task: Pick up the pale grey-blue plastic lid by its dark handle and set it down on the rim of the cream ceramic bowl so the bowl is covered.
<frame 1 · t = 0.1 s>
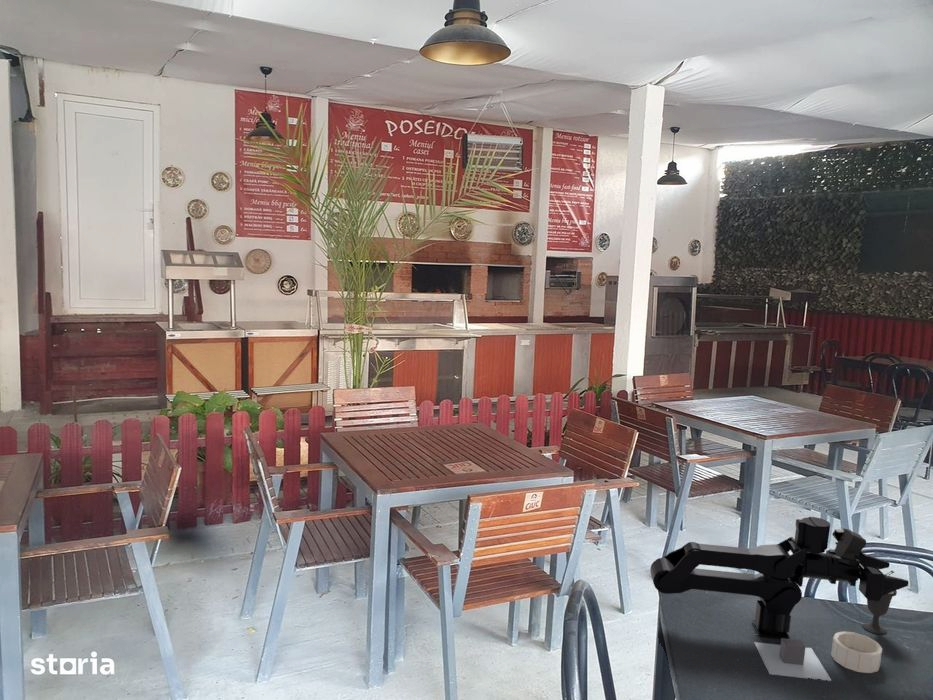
hand: (898, 573, 161), 17 cm above the table, tool horizontal, fingers open, 9 cm apart
sundae: (874, 629, 169), on the table
lid: (790, 663, 155), on the table
bowl: (855, 660, 156), on the table
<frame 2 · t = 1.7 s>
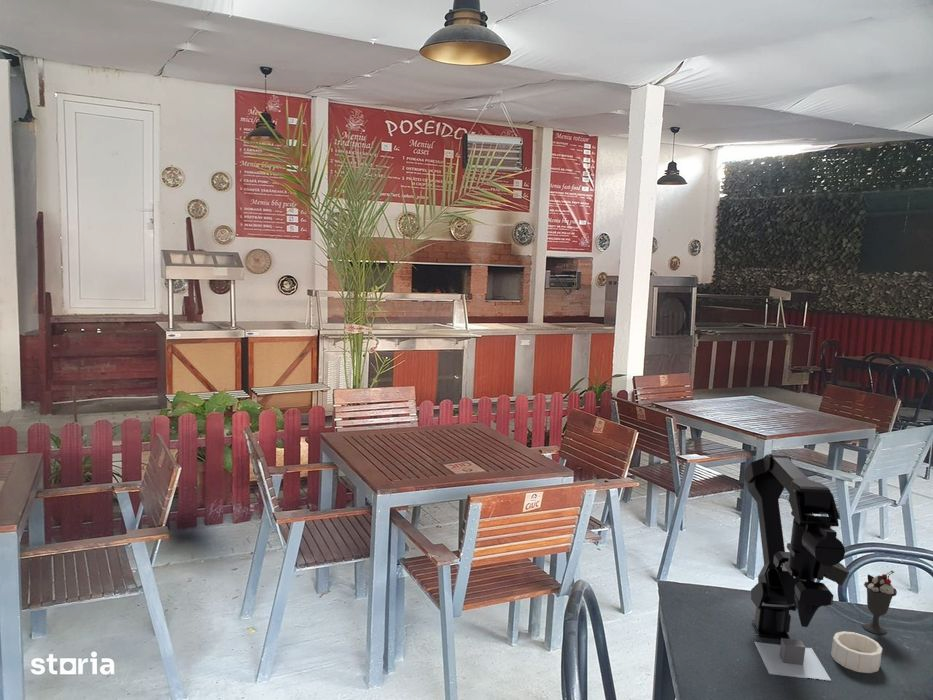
hand: (797, 615, 153), 10 cm above the table, tool pointing down, fingers open, 9 cm apart
nothing on the table moved.
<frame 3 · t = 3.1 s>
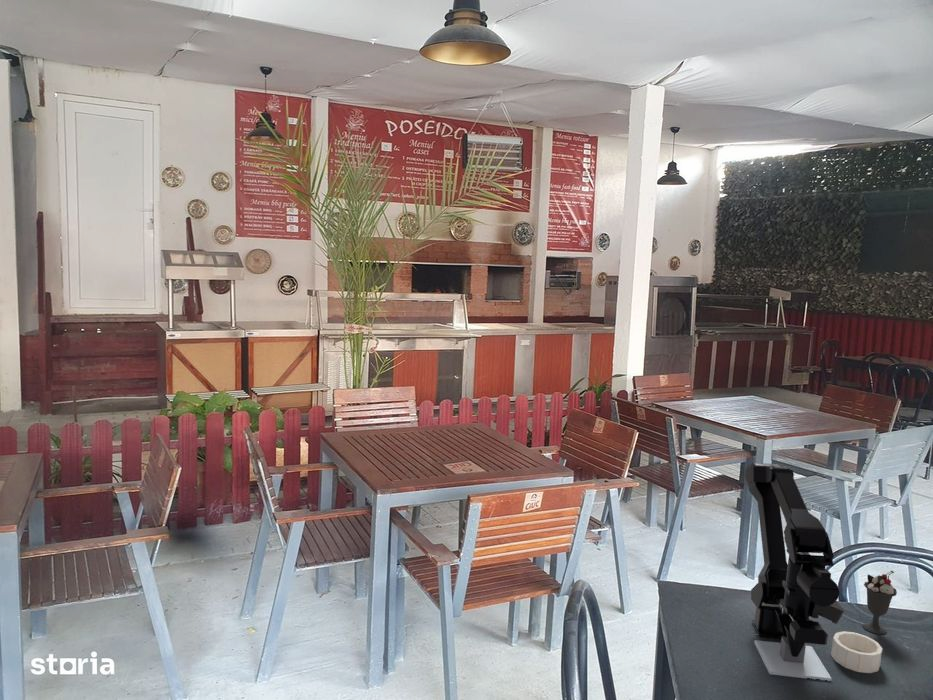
hand: (792, 652, 154), 2 cm above the table, tool pointing down, fingers closed on lid, 3 cm apart
lid: (791, 661, 155), on the table, touching gripper
everything else where it was.
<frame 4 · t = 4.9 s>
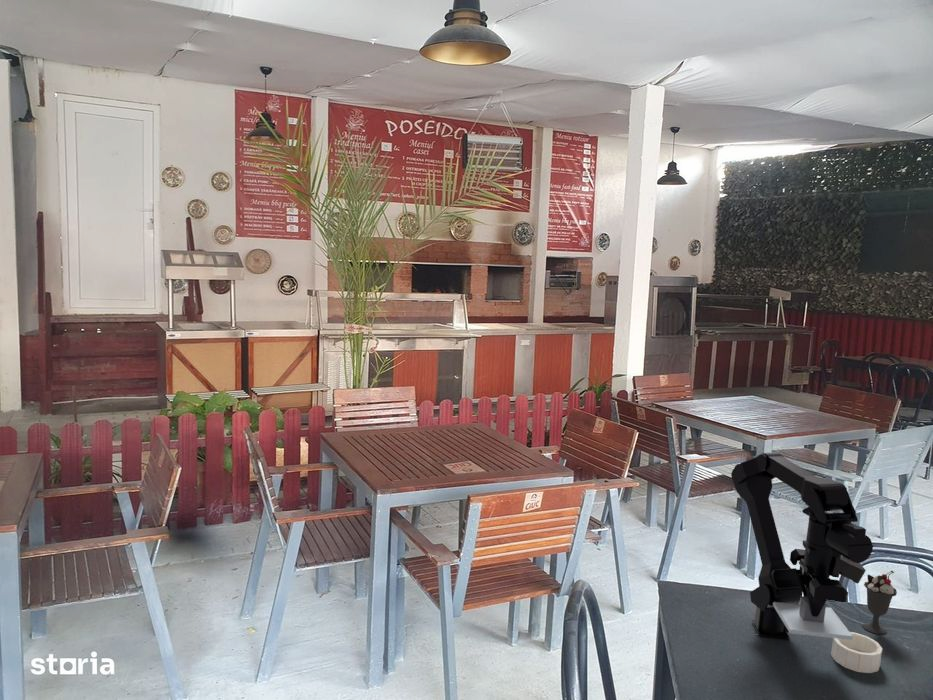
hand: (812, 612, 153), 11 cm above the table, tool pointing down, fingers closed on lid, 3 cm apart
lid: (810, 621, 153), point 9 cm above the table, touching gripper
everything else where it was.
when the fingers open (7 cm above the table, at t = 6.4 s): lid drops 1 cm, resting on bowl.
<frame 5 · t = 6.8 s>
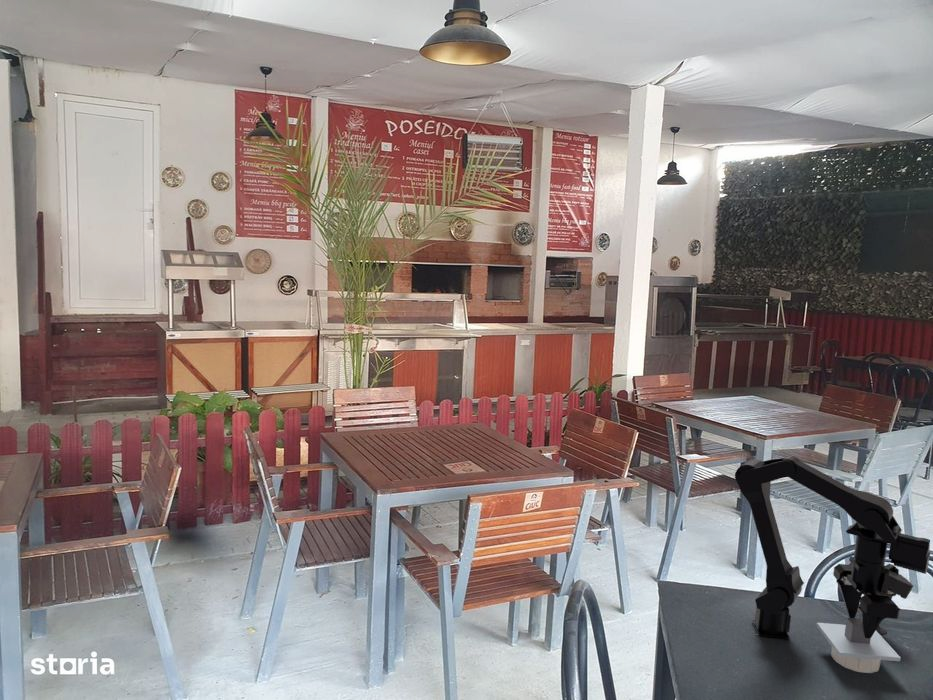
hand: (859, 627, 155), 7 cm above the table, tool pointing down, fingers open, 8 cm apart
lid: (856, 642, 155), point 4 cm above the table, touching bowl
everything else where it was.
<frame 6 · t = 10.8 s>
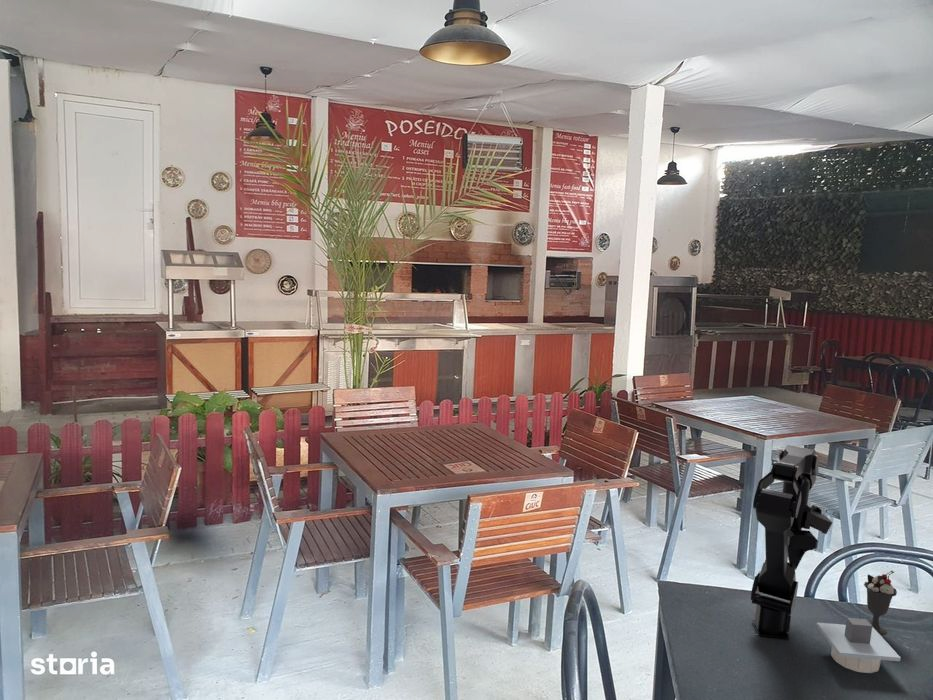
hand: (787, 561, 176), 12 cm above the table, tool pointing down, fingers open, 9 cm apart
nothing on the table moved.
at the end: lid 0.2 cm off-centre on the bowl, point 4.0 cm above the bowl's base; lid tilted 0°; the gripper is holding nothing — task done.
